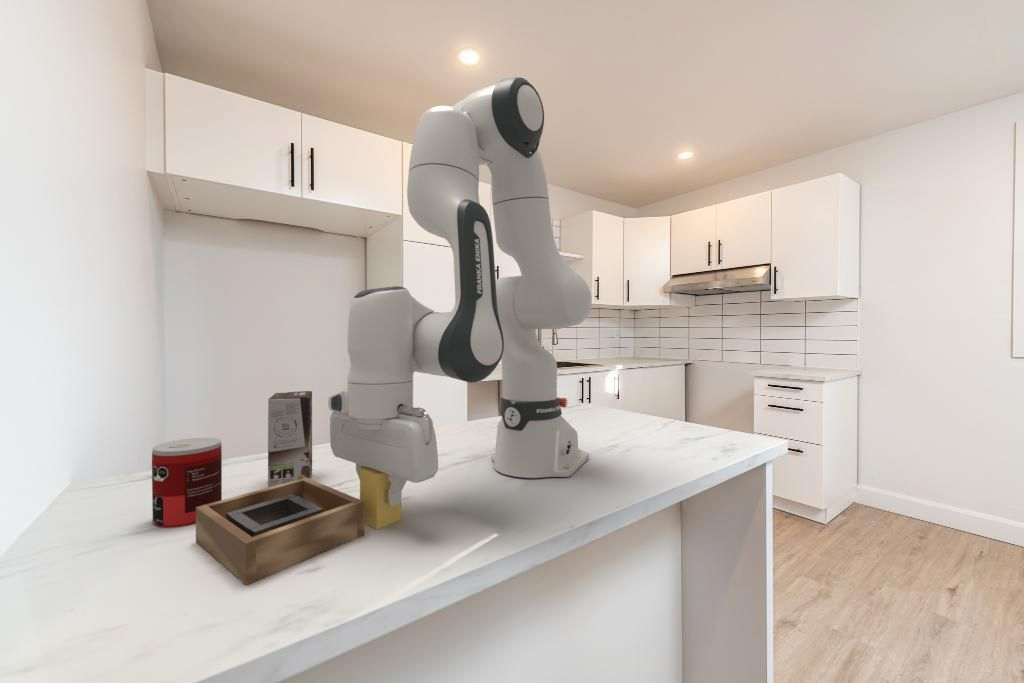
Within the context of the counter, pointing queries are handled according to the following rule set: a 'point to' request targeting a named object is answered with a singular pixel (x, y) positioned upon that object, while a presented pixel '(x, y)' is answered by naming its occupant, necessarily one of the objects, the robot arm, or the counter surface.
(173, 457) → the canned food
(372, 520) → the plug
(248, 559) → the walled box
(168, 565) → the counter surface
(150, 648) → the counter surface
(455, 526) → the counter surface
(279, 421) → the coffee box
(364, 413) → the robot arm
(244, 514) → the socket
